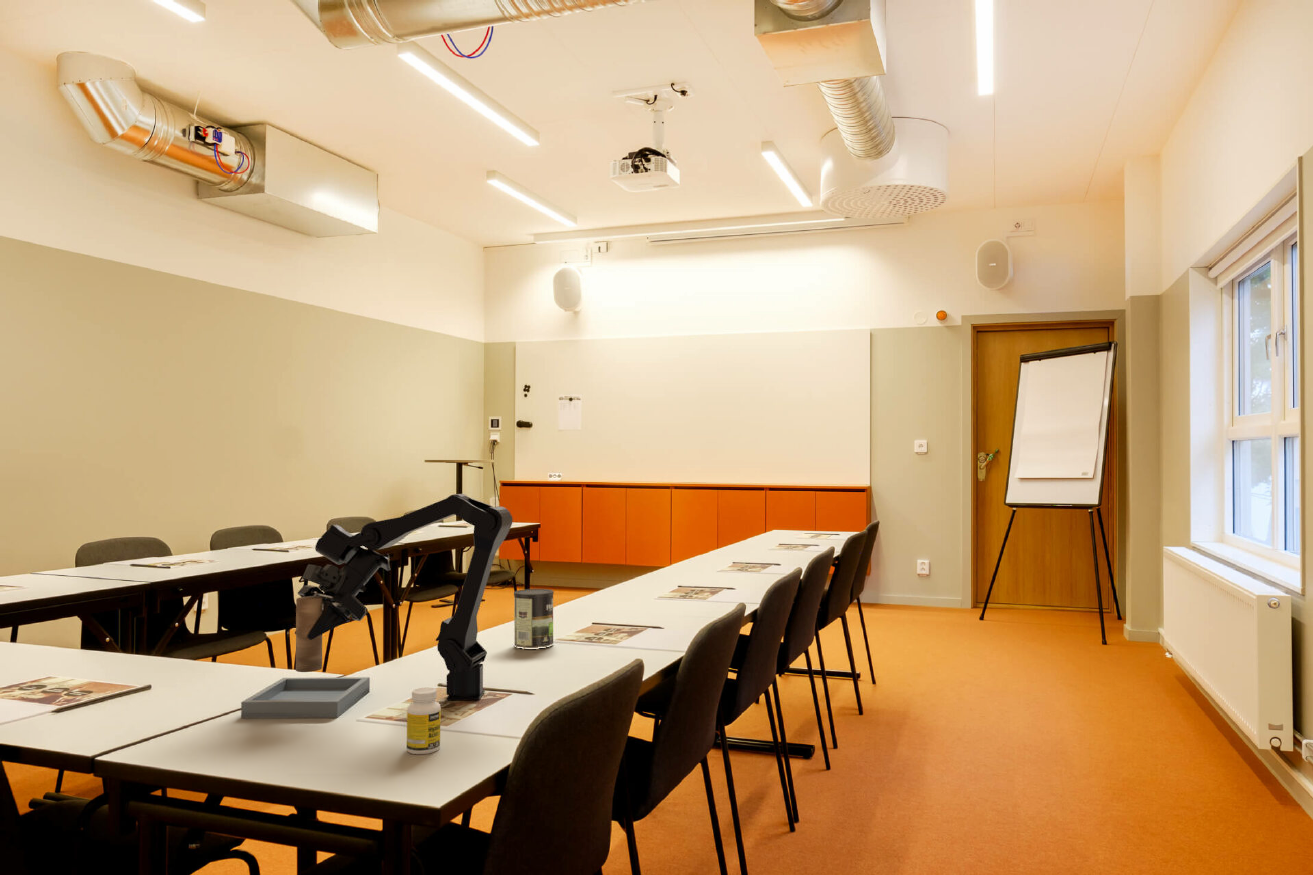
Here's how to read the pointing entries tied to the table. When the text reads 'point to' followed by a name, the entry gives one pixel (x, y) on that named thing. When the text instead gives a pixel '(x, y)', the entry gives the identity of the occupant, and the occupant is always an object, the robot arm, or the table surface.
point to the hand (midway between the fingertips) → (302, 636)
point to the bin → (306, 698)
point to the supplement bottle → (423, 722)
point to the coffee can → (533, 618)
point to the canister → (306, 648)
